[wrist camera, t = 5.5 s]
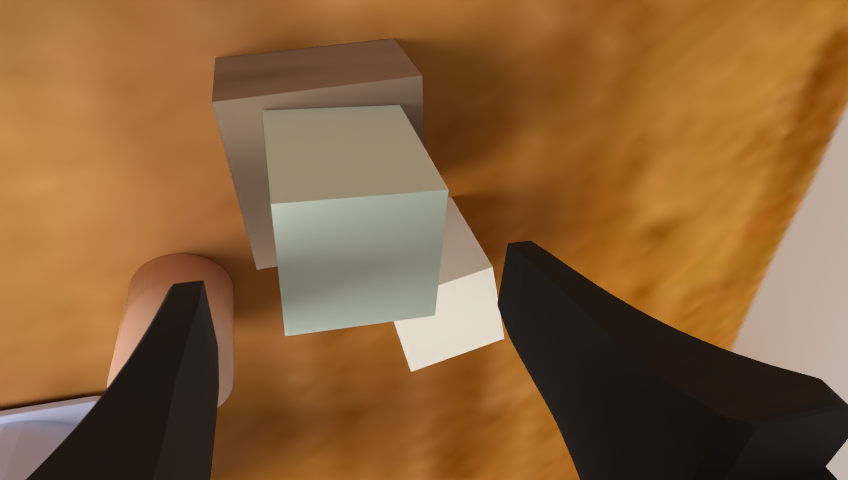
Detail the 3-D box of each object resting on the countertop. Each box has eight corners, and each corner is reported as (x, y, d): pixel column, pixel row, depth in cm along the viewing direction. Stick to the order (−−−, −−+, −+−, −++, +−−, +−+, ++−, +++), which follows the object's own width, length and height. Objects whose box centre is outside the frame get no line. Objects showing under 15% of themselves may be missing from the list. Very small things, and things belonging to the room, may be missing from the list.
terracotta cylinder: (239, 320, 25) (240, 411, 21) (141, 334, 24) (123, 432, 20) (226, 248, 23) (224, 335, 19) (117, 259, 22) (91, 354, 18)
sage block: (394, 215, 19) (434, 315, 15) (274, 226, 18) (284, 336, 14) (399, 105, 17) (448, 190, 13) (262, 110, 16) (270, 204, 12)
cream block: (464, 264, 27) (504, 338, 23) (384, 291, 26) (410, 371, 22) (450, 196, 24) (492, 266, 20) (362, 225, 24) (387, 303, 20)
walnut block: (401, 183, 23) (427, 238, 20) (253, 207, 22) (256, 269, 19) (392, 36, 20) (422, 75, 17) (215, 56, 19) (212, 101, 15)
